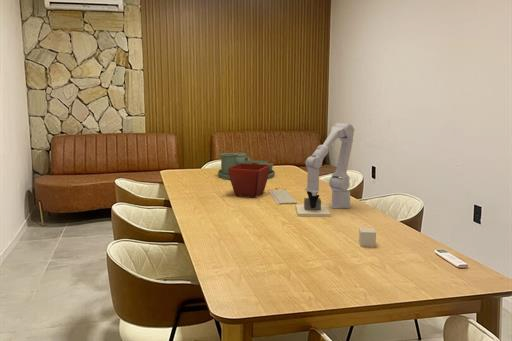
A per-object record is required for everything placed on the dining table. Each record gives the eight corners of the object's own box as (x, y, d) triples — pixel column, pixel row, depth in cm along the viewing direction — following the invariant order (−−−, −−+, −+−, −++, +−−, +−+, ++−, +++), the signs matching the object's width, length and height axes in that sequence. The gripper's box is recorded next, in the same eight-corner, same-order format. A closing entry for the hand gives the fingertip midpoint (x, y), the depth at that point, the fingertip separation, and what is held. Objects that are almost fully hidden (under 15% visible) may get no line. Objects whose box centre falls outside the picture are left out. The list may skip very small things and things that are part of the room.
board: (325, 207, 258) (325, 204, 258) (330, 216, 240) (330, 213, 240) (295, 207, 258) (295, 204, 258) (298, 216, 240) (298, 213, 240)
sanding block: (319, 207, 251) (319, 198, 250) (320, 210, 246) (321, 200, 245) (304, 207, 251) (304, 198, 250) (304, 210, 246) (305, 200, 245)
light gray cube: (358, 241, 203) (359, 227, 202) (373, 242, 202) (374, 228, 201) (360, 246, 197) (360, 232, 196) (375, 246, 196) (376, 232, 195)
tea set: (255, 184, 318) (255, 159, 315) (206, 177, 339) (206, 154, 336) (285, 174, 351) (285, 151, 348) (239, 169, 372) (239, 147, 369)
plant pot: (227, 196, 282) (227, 167, 279) (240, 190, 299) (240, 162, 296) (258, 199, 274) (258, 170, 271) (270, 192, 292) (270, 164, 289)
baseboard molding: (275, 205, 264) (297, 205, 265) (275, 200, 263) (297, 200, 265) (266, 192, 294) (286, 192, 295) (266, 188, 293) (286, 187, 295)
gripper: (303, 177, 253) (303, 203, 256) (306, 183, 239) (305, 210, 241) (317, 177, 253) (316, 203, 256) (321, 183, 239) (320, 210, 241)
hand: (312, 206), depth 248 cm, fingers closed on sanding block, 5 cm apart
